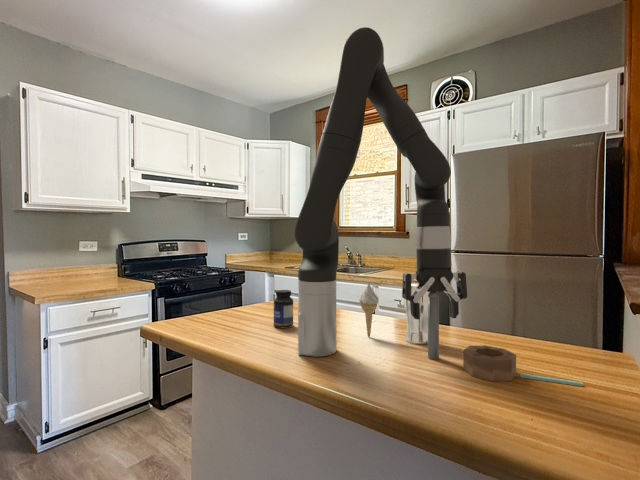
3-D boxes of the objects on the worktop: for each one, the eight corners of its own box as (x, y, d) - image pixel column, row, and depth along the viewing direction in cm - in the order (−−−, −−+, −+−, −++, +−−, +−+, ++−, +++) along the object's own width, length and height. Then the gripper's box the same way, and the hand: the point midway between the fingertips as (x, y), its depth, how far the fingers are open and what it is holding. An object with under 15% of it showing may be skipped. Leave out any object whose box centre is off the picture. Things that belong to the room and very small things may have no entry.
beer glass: (432, 345, 88) (432, 286, 88) (404, 344, 90) (404, 286, 90) (429, 338, 95) (429, 283, 95) (403, 336, 96) (403, 282, 96)
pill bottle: (270, 325, 109) (270, 290, 109) (286, 322, 113) (286, 288, 113) (279, 329, 104) (279, 292, 104) (297, 326, 108) (297, 291, 108)
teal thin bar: (520, 377, 68) (520, 374, 68) (520, 375, 69) (520, 373, 69) (583, 386, 64) (583, 383, 64) (582, 385, 64) (582, 382, 64)
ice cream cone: (356, 338, 95) (356, 283, 95) (361, 333, 100) (361, 281, 100) (376, 340, 93) (376, 284, 93) (381, 335, 98) (381, 282, 98)
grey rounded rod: (430, 359, 78) (430, 292, 78) (426, 356, 80) (426, 290, 80) (440, 359, 78) (440, 292, 78) (436, 356, 81) (436, 290, 80)
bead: (479, 381, 66) (479, 360, 66) (457, 364, 75) (457, 346, 75) (524, 380, 67) (524, 359, 67) (497, 363, 76) (497, 345, 76)
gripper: (408, 247, 75) (409, 323, 75) (472, 246, 76) (473, 320, 76) (397, 247, 82) (399, 315, 82) (456, 246, 83) (457, 313, 83)
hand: (434, 318), depth 79 cm, fingers open, 8 cm apart
